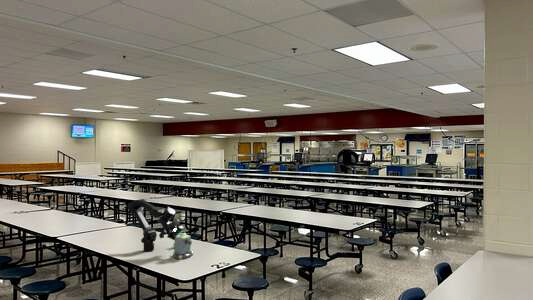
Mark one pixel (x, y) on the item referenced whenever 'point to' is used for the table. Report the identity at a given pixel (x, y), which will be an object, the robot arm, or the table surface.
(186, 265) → the table surface
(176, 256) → the tribrach base
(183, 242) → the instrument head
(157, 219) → the robot arm
